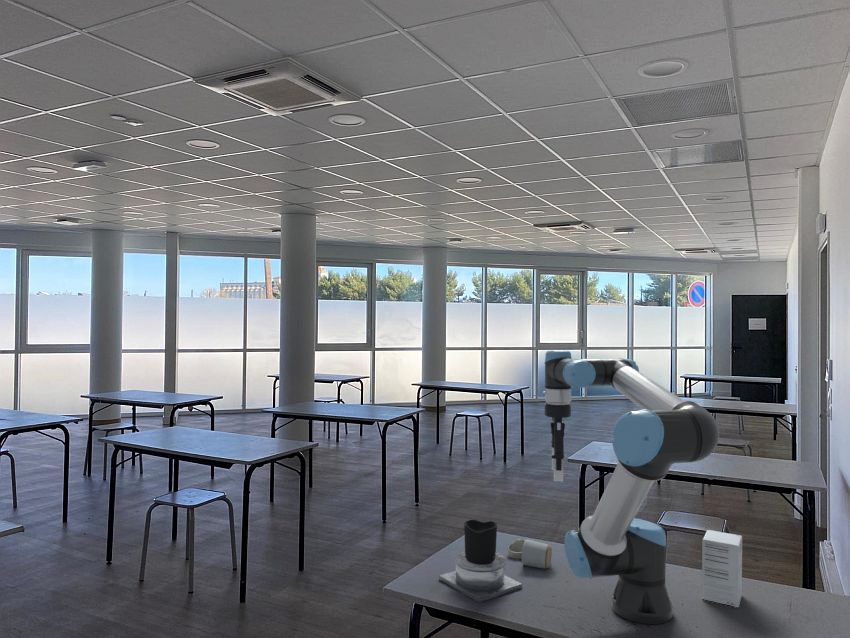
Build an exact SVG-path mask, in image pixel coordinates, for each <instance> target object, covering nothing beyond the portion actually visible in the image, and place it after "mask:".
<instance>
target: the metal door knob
mask: <svg viewBox="0 0 850 638" xmlns="http://www.w3.org/2000/svg"><path fill="white" fill-rule="evenodd" d="M454 564H455V570H454V571H453V570H452V571H449V572H447V573H444V574H439V575H438V580H439V579H440V580H439V581H440V582H442V581H443V583H444V584H446V585H448V586H449V587H451V588H452V589H455V590H456V591H458V592H460V593H462V594H463V595H465V596H468V597H469V598H471V599H472V600H474V601H476V602H477V603H483V602H485V601H488V600H491V599H494V598H498V597H500V596H503V595H505V594H508V593H512V592H515V591H517V590H520V589H523V583H521V582H519V581H517V580H516V579H514V578H511V577H509V576H508V575H506V573H505V568H506V567H505V566H506V564H507V558H506V557H505V556H504V555H503V554H501V553H499V552H497V551H496V556H495V560H494V561H493V562H491V563H488V564H475V563H472V562H469V561H468V560H467V559H466V557H465V550H463V551H460V552H458V553H457V554H455V556H454Z"/></svg>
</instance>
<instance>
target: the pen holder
mask: <svg viewBox="0 0 850 638" xmlns="http://www.w3.org/2000/svg"><path fill="white" fill-rule="evenodd" d="M463 525H464V527H463V530H464V551H465V557H466V559H467V560H468V561H469V562H472V563H475V564H488V563H491V562H493V561H494V560H495V556H496V552H497V533H498V532H497V531H498V524H497V523H496V522H495V521H493V520H490V521H489V520H488V521H479V520H476V519H469V520H465V521H464V523H463Z"/></svg>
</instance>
